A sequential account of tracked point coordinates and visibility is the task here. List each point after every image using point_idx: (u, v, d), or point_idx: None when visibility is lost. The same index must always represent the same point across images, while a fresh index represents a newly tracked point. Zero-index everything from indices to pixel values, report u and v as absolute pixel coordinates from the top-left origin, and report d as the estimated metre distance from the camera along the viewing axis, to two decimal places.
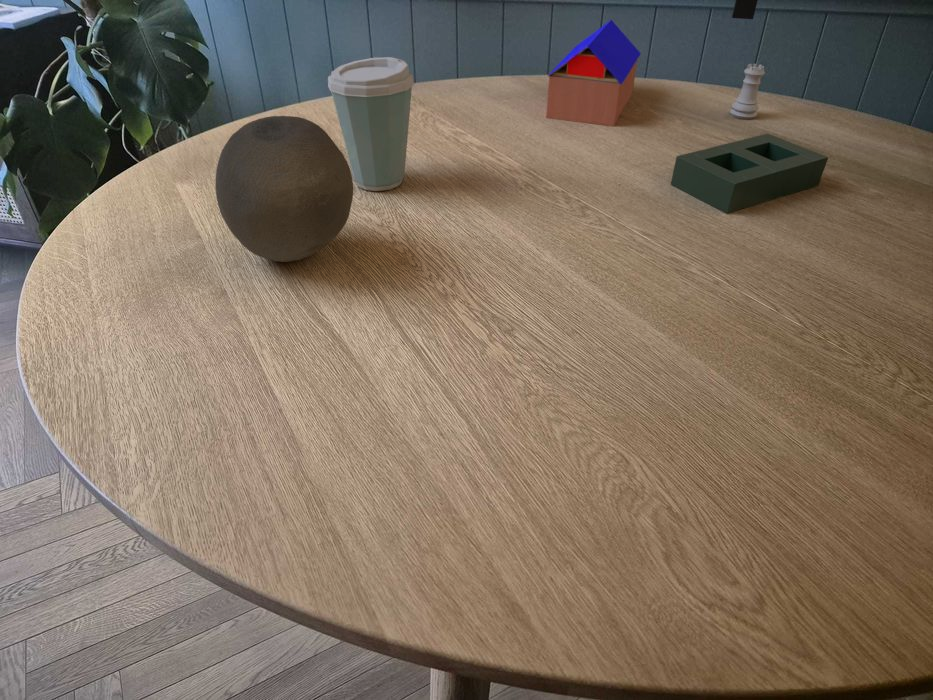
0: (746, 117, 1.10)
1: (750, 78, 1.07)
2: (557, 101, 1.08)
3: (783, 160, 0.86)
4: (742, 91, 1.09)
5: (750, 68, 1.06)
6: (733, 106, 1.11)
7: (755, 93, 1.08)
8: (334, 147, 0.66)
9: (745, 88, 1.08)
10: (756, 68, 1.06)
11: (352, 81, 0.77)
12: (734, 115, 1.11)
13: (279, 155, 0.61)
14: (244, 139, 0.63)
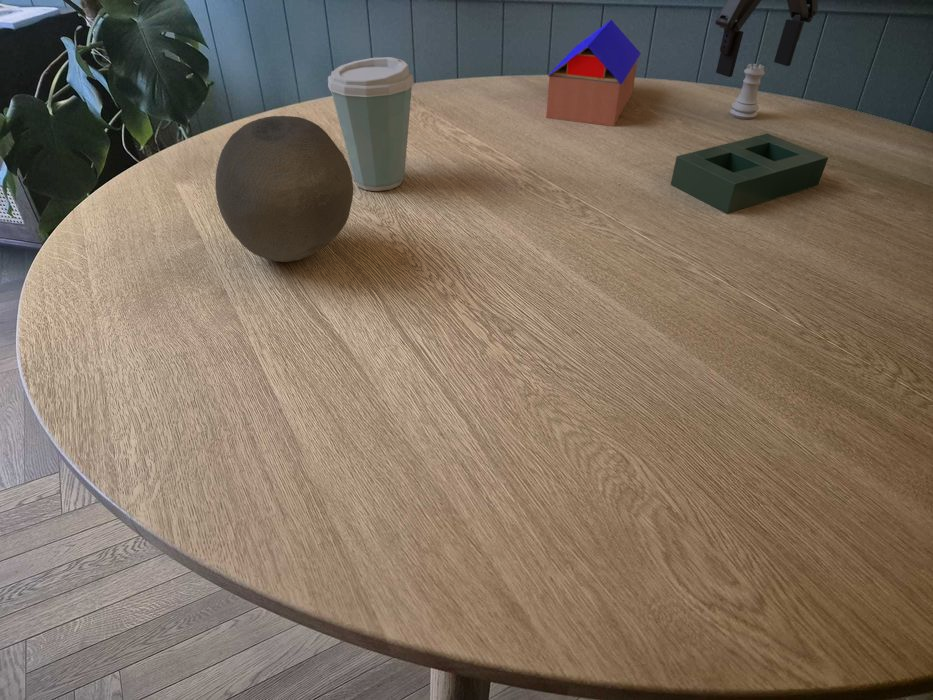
0: (746, 117, 1.10)
1: (750, 78, 1.07)
2: (557, 101, 1.08)
3: (783, 160, 0.86)
4: (742, 91, 1.09)
5: (750, 68, 1.06)
6: (733, 106, 1.11)
7: (755, 93, 1.08)
8: (334, 147, 0.66)
9: (745, 88, 1.08)
10: (756, 68, 1.06)
11: (352, 81, 0.77)
12: (734, 115, 1.11)
13: (279, 155, 0.61)
14: (244, 139, 0.63)
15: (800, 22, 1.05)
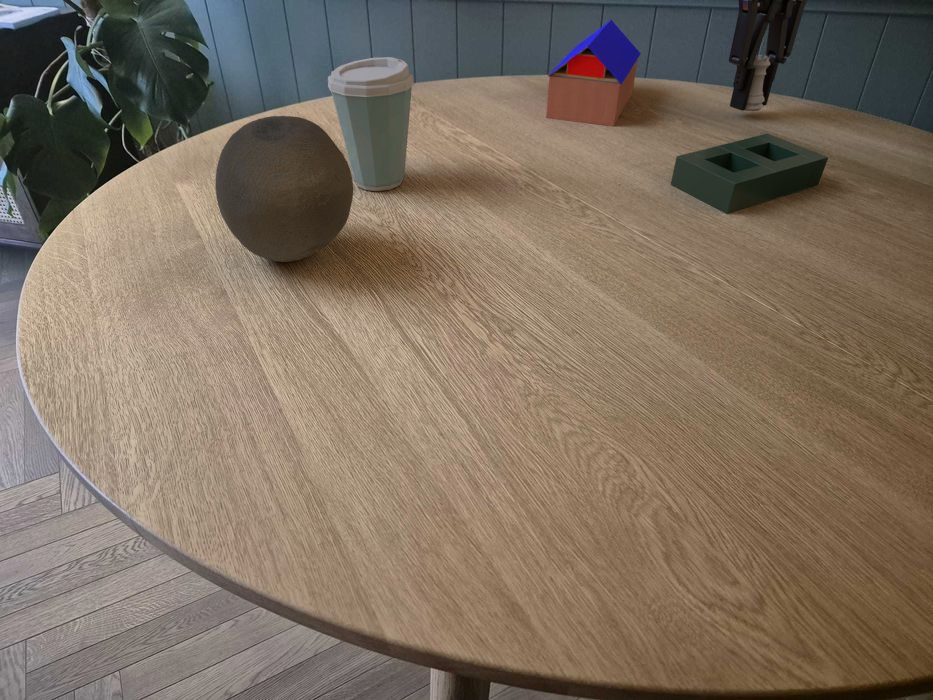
0: (752, 109, 1.09)
1: (755, 69, 1.06)
2: (557, 101, 1.08)
3: (783, 160, 0.86)
4: None
5: (755, 59, 1.05)
6: None
7: (761, 84, 1.07)
8: (334, 147, 0.66)
9: None
10: (761, 59, 1.05)
11: (352, 81, 0.77)
12: None
13: (279, 155, 0.61)
14: (244, 139, 0.63)
15: (774, 63, 1.07)
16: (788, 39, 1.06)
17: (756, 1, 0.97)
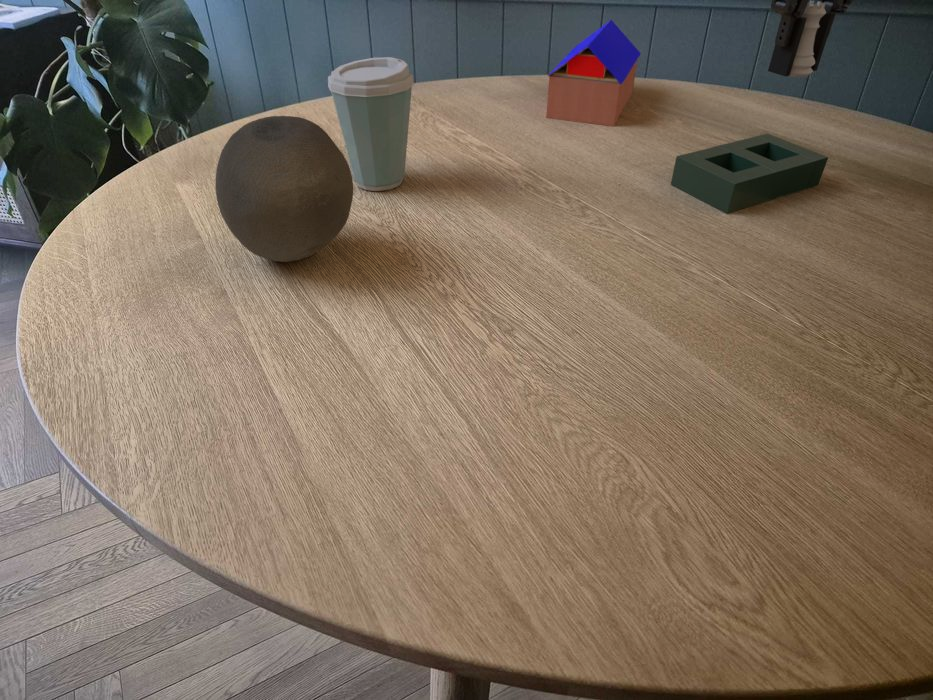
0: (798, 74, 0.81)
1: (806, 20, 0.79)
2: (557, 101, 1.08)
3: (783, 160, 0.86)
4: None
5: None
6: None
7: (811, 41, 0.80)
8: (334, 147, 0.66)
9: None
10: (815, 5, 0.78)
11: (352, 81, 0.77)
12: None
13: (279, 155, 0.61)
14: (244, 139, 0.63)
15: (831, 13, 0.80)
16: None
17: None
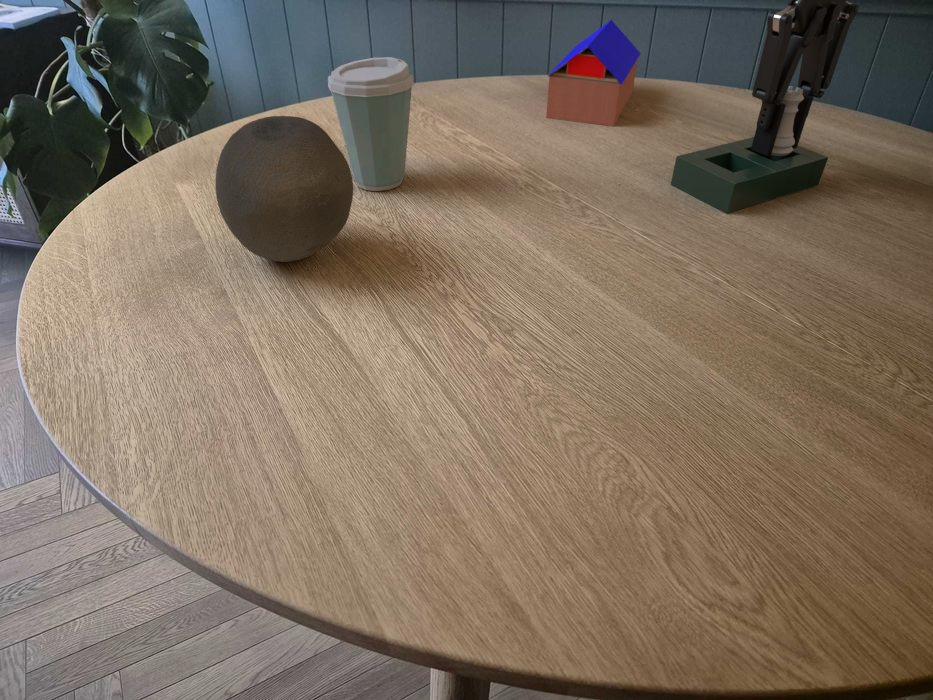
0: (779, 154, 0.86)
1: None
2: (557, 101, 1.08)
3: (783, 160, 0.86)
4: None
5: None
6: None
7: (791, 123, 0.85)
8: (334, 147, 0.66)
9: None
10: (793, 92, 0.82)
11: (352, 81, 0.77)
12: None
13: (279, 155, 0.61)
14: (244, 139, 0.63)
15: (809, 97, 0.84)
16: (827, 67, 0.83)
17: (790, 21, 0.75)
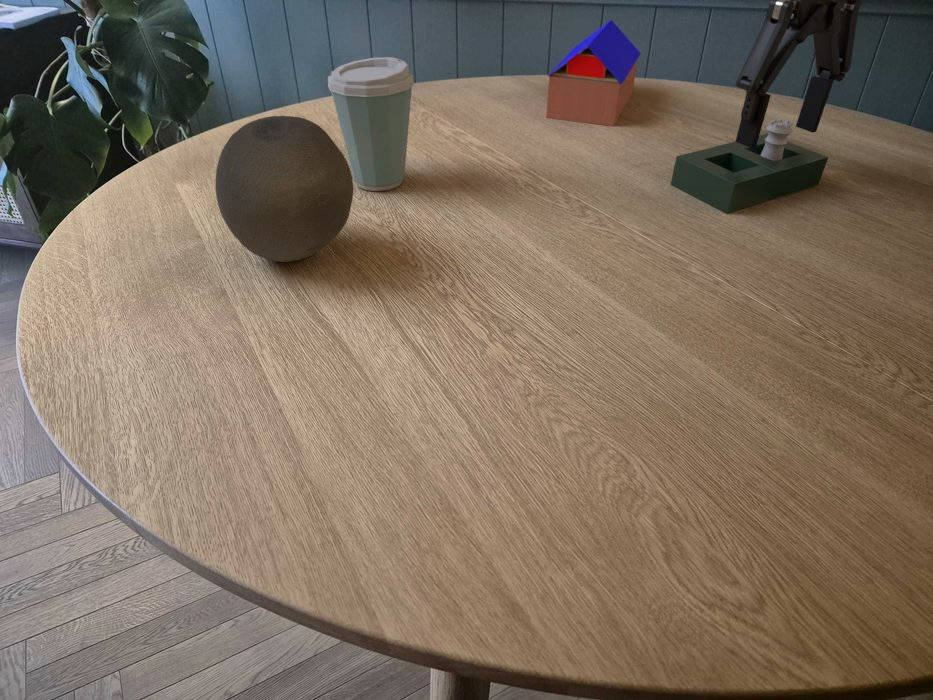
0: None
1: (774, 137, 0.86)
2: (557, 101, 1.08)
3: (783, 160, 0.86)
4: (764, 152, 0.88)
5: (774, 125, 0.85)
6: None
7: (780, 155, 0.87)
8: (334, 147, 0.66)
9: (768, 149, 0.87)
10: (782, 125, 0.85)
11: (352, 81, 0.77)
12: None
13: (279, 155, 0.61)
14: (244, 139, 0.63)
15: (829, 81, 0.85)
16: (843, 54, 0.84)
17: (792, 9, 0.74)
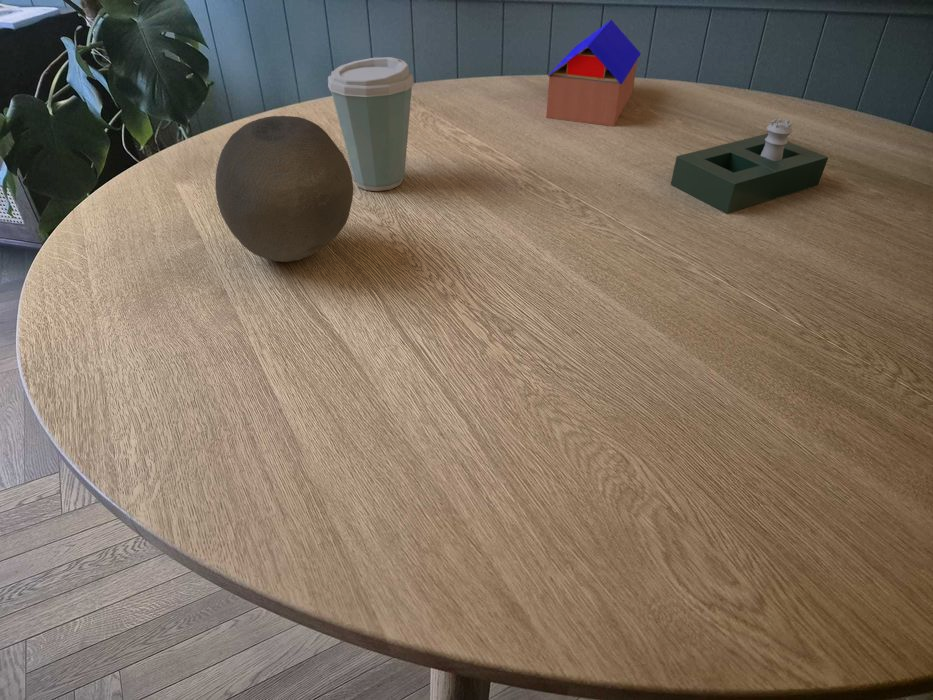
0: None
1: (774, 137, 0.86)
2: (557, 101, 1.08)
3: (783, 160, 0.86)
4: (764, 152, 0.88)
5: (774, 125, 0.85)
6: None
7: (780, 155, 0.87)
8: (334, 147, 0.66)
9: (768, 149, 0.87)
10: (782, 125, 0.85)
11: (352, 81, 0.77)
12: None
13: (279, 155, 0.61)
14: (244, 139, 0.63)
15: None
16: None
17: None
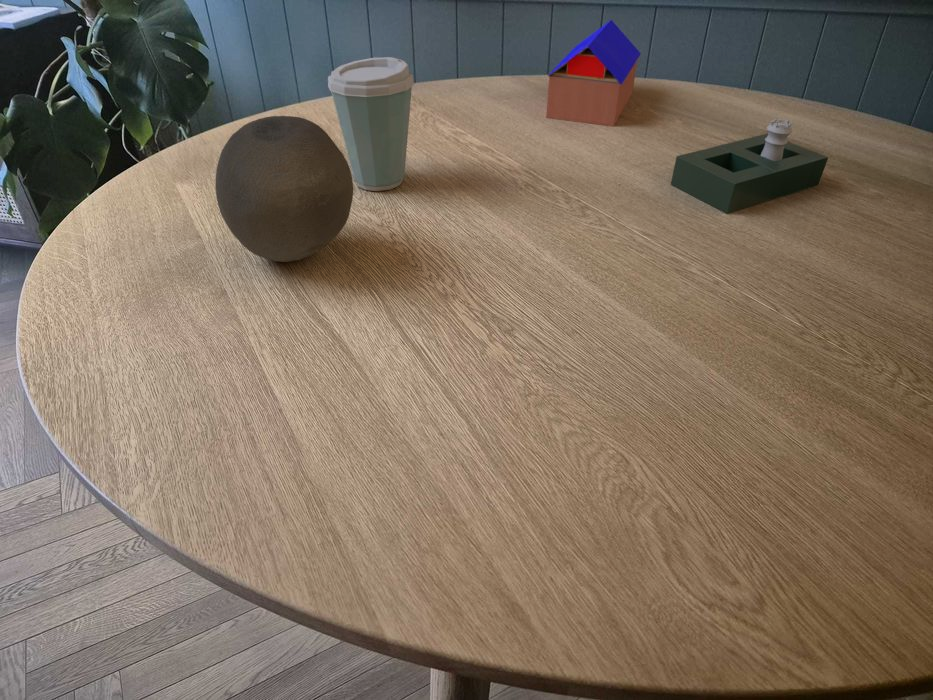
0: None
1: (774, 137, 0.86)
2: (557, 101, 1.08)
3: (783, 160, 0.86)
4: (764, 152, 0.88)
5: (774, 125, 0.85)
6: None
7: (780, 155, 0.87)
8: (334, 147, 0.66)
9: (768, 149, 0.87)
10: (782, 125, 0.85)
11: (352, 81, 0.77)
12: None
13: (279, 155, 0.61)
14: (244, 139, 0.63)
15: None
16: None
17: None
